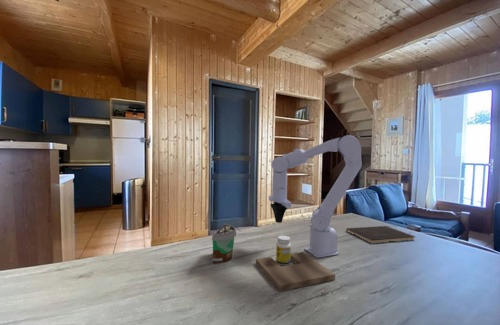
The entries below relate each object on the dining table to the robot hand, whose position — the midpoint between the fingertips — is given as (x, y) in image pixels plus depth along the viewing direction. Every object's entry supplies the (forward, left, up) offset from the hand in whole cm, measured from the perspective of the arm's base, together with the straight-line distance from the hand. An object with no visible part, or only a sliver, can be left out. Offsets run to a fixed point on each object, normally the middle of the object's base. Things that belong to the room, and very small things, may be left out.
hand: (278, 222), depth 88 cm
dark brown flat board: (-51, +3, -10) cm, 52 cm away
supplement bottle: (+5, +13, -10) cm, 17 cm away
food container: (+22, +4, -10) cm, 24 cm away
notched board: (+5, +19, -9) cm, 22 cm away
